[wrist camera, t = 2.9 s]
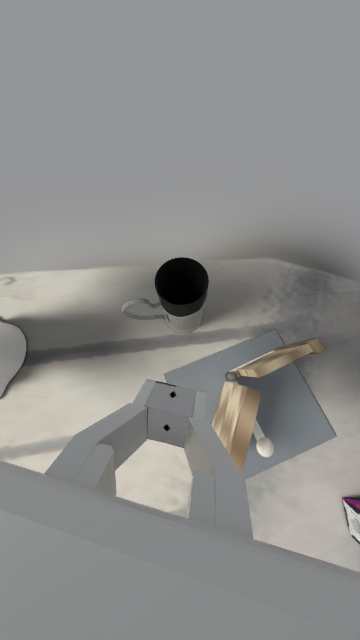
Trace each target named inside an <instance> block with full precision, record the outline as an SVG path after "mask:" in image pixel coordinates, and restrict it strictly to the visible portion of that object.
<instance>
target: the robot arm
mask: <svg viewBox="0 0 360 640" xmlns="http://www.w3.org/2000/svg"><path fill="white" fill-rule="evenodd" d="M25 354H26V340H25V337H24V335H23V333H22V331H21V330H20V329H19V328H18V327H16V326H14V325H12V324H8V323H4V322H2V321H0V397H1V396H2V394H3V392H4V390H5V388H6V386H7V384H8V382H9V381H10V380H11V379H12V378H13V377H14V376H15V374H16V373H17V372H18V370H19V369H20V367H21V365H22V363H23V361H24V358H25ZM206 405H207V391H204V390H198V389H192V388H187V387H181V386H176V385H172V384H167V383H163V382H159V381H153V380H149V379H147V380H146V381H145V382H144V384H143V386H142V388H141V389H140V391H139V393H138V395H137V397H136V398H135V400H134V402H133V404H130V403H129V404H127V405H125V406H124V407H122V408H120V409H119V410H117V411H115V412H114V413H112V414H110V415H108V416H107V417H105V418H103V419H102V420H100V421H98V422H96V423H95V424H93V425H91V426H90V427H88V428H86V429H85V430H83V431H81V432H79V433H78V434H76V435H75V436H74V437H73V438H72V440H71V441H70V442H69V443H68V445H67V446H66V447H65V448H64V450H63V451H62V452H61V453H60V455H59V456H58V457H57V458H56V460H55V461H54V462H53V463H52V465H51V466H50V467H49V468H48V470H47V471H46V472H45V474H43V473H40V472H36V471H33V470H30V469H27V468H23V467H20V466H17V465H14V464H11V463H7V462H4V461H1V460H0V640H360V572H358V571H354V570H351V569H348V568H345V567H342V566H338V565H335V564H332V563H329V562H325V561H322V560H319V559H316V558H313V557H309V556H306V555H303V554H300V553H296V552H293V551H290V550H287V549H284V548H280V547H277V546H274V545H271V544H268V543H264V542H261V541H258V540H255V539H253V533H252V526H251V519H250V512H249V505H248V498H247V491H246V484H245V480H244V478H243V477H242V475H241V473H240V472H239V470H238V468H237V467H236V465H235V463H234V462H233V460H232V458H231V457H230V455H229V453H228V452H227V450H226V448H225V447H224V445H223V443H222V442H221V440H220V438H219V437H218V435H217V433H216V432H215V430H214V428H213V427H212V425H211V424H210V422H209V421H206ZM147 439H150V440H155V441H159V442H164V443H168V444H171V445H175V446H178V447H182V448H184V451H185V454H186V457H187V460H188V463H189V466H190V469H191V472H192V475H193V478H192V483H191V489H190V494H189V499H188V505H187V510H186V516H185V518H184V517H181V516H178V515H175V514H171V513H168V512H165V511H162V510H159V509H155V508H152V507H149V506H146V505H143V504H139V503H136V502H133V501H130V500H126V499H123V498H120V497H117V496H116V479H115V470H116V469H118V468H119V467H120V466H121V465H122V464H123V463H124V462H125V461H126V460H127V459H128V458H129V457H130V456H131V455H132V454H133V453H134V452H135V451H136V450H137V449H138V448H139V447H140V446H141V445H142V444H143V443H144V442H145V441H146V440H147Z"/></svg>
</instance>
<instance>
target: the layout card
mask: <svg viewBox="0 0 360 640" xmlns="http://www.w3.org/2000/svg"><path fill="white" fill-rule="evenodd" d="M282 346H285V345H284V344H283V342H282V340H281V338H280V337H279V335H278V333H277V331H276V330H275V329H274V330H272V331H269V332H267V333H265V334H262V335H260V336H257V337H255V338H252V339H250V340H247V341H245V342H242V343H240V344H237V345H235V346H232V347H230V348H228V349H225V350H223V351H220V352H218V353H215V354H213V355H210V356H208V357H205V358H203V359H200V360H198V361H195V362H193V363H191V364H188V365H186V366H183V367H181V368H178V369H176V370H173V371H171V372H168V373H166V374H164V376H165V379H166V382H167V384H172V385H176V386H181V387H187V388H192V389H198V390H204V391H207V405H206V421H209V422H210V424H211V425H212V423H213V420H214V416H215V413H216V410H217V406H218V403H219V400H220V396H221V393H222V390H223V386H224V383H225V381H227V382H231V383H234V384H238V385H242V386H245V387H249V388H252V389H254V390H257V391H259V392H262V394H261V398H260V402H259V407H258V411H257V415H256V419H255V423H254V427H253V432H252V436H251V440H250V444H249V448H248V452H247V456H246V461H245V465H244V469H243V473H242V477H243V478H244V480H245V479H247V478H249V477H251V476H253V475H255V474H258V473H260V472H262V471H264V470H266V469H268V468H270V467H273V466H275V465H277V464H279V463H281V462H283V461H285V460H288V459H290V458H292V457H294V456H296V455H298V454H300V453H302V452H305V451H307V450H309V449H311V448H313V447H315V446H317V445H320V444H322V443H324V442H326V441H328V440H330V439H332V438H335V437H336V435H335V433H334V431H333V430H332V428H331V426H330V424H329V423H328V421H327V419H326V417H325V416H324V414H323V412H322V410H321V409H320V407H319V405H318V403H317V402H316V400H315V398H314V396H313V395H312V393H311V391H310V389H309V388H308V386H307V384H306V382H305V381H304V379H303V377H302V375H301V374H300V372H299V370H298V368H297V367H296V365H295V363H294V361H293V362H291V363H289V364H287V365H285V366H282V367H280V368H278V369H276V370H274V371H272V372H270V373H268V374H266V375H264V376H262V377H260V378H258V377H248V376H239V375H238V374H237V375H238V379H237V380H236V381H230V380H227V379H226V377H225V375H226V373H227V372H235V373H237V372H236V369H238V368H240V367H242V366H244V365H246V364H248V363H251V362H253V361H255V360H257V359H259V358H261V357H263V356H265V355H267V354H270V353H272V352H274V349H276V348H278V347H282Z"/></svg>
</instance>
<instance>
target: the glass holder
mask: <svg viewBox="0 0 360 640" xmlns="http://www.w3.org/2000/svg"><path fill="white" fill-rule="evenodd" d="M208 283H209V279H208V275H207V272H206V270H205V268H204V267H203V266H202V265H201V264H200V263H198V262H197V261H195V260H193V259H190V258H175V259H172V260H169V261H167V262H166V263H164V264H163V265H162V266H161V267H160V268H159V270H158V272H157V274H156V277H155V287H156V291H157V293H158V296H159V300H160V302H159V303H156V304H151V303H150V302H149V301H148V300H147V299H143V298H137V299H133V300H130V301H128V302H126V303H124V304H123V305H122V308H121V310H122V312H123V314H124V315H125V316H127V317H129V318H132V319H137V320H148V319H161V318H164V320H165V322H166V324H167V326H168V327H169V328H170V329H171V330H173V331H175V332H177V333H183V334H184V333H190V332H192V331H194V330H195V329H197V328H198V327H199V325H200V324H201V322H202V319H203V308H204V304H205V300H206V297H207V290H208ZM137 303H145V304H148V305H149V307H150V308H157V307H160V306H161V307H162V309H163V312H164V315H154V316H137V315H132V314H130V313H127V312H126V311H125V309H126V308H127V307H129V306H131V305H133V304H137Z"/></svg>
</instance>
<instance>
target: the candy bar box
mask: <svg viewBox="0 0 360 640" xmlns="http://www.w3.org/2000/svg"><path fill="white" fill-rule="evenodd" d="M342 501H343V506H344V510H345V515H346V520H347V525H348V529H349V533H350V535H351V536H352V537H353V538H354V539H355V540H356V541H357V542H358V543H359V544H360V498H351V499H349V498H344V499H342Z"/></svg>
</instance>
